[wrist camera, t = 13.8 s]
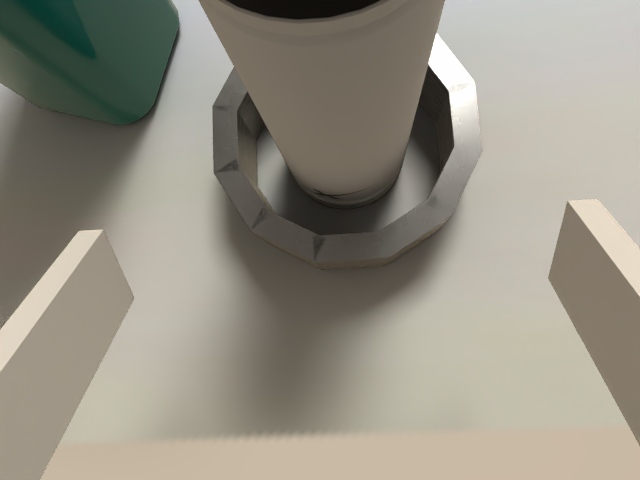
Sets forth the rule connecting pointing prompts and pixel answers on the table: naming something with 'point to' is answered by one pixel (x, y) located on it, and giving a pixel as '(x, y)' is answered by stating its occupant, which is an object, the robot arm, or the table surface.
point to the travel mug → (333, 84)
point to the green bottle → (87, 54)
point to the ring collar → (369, 247)
